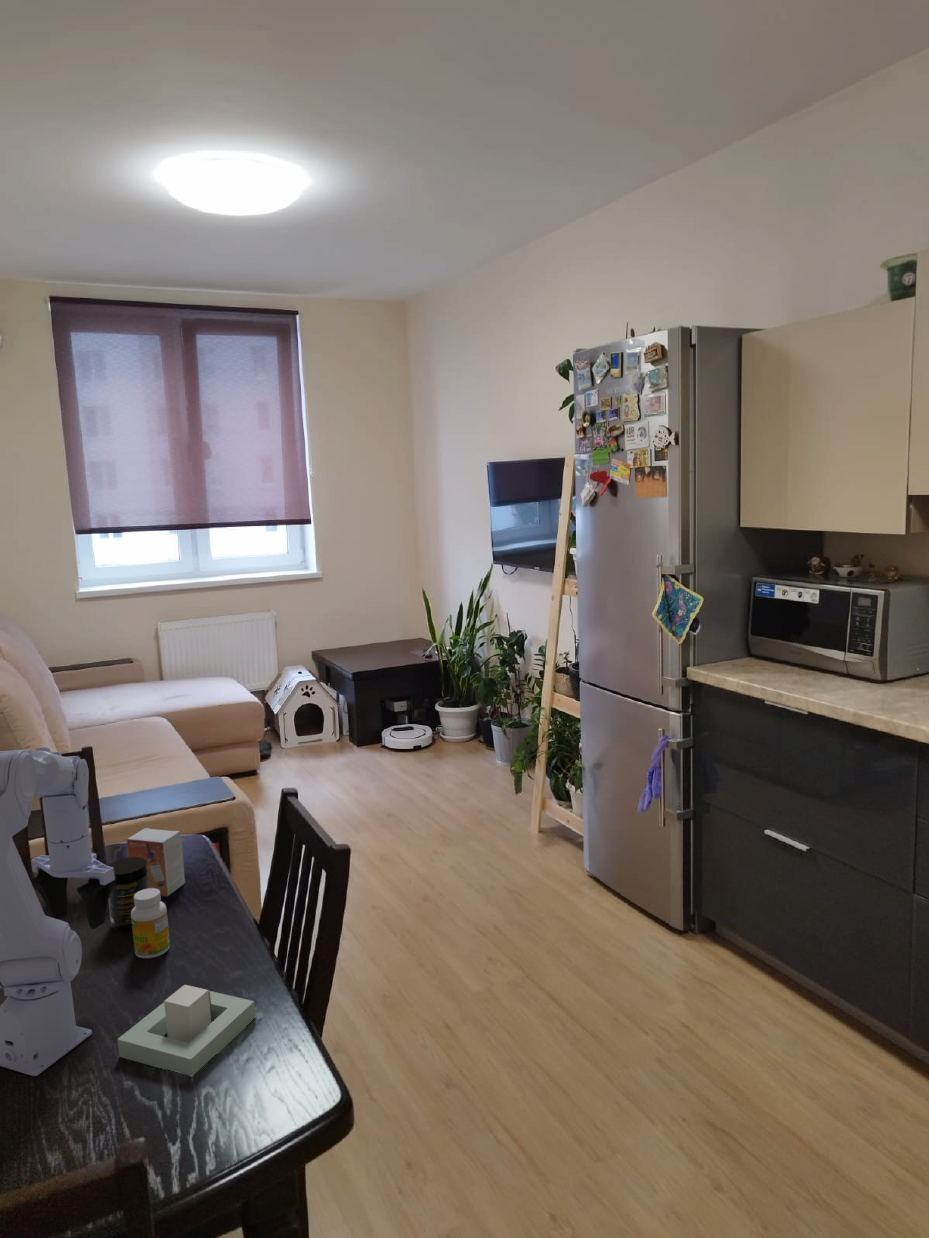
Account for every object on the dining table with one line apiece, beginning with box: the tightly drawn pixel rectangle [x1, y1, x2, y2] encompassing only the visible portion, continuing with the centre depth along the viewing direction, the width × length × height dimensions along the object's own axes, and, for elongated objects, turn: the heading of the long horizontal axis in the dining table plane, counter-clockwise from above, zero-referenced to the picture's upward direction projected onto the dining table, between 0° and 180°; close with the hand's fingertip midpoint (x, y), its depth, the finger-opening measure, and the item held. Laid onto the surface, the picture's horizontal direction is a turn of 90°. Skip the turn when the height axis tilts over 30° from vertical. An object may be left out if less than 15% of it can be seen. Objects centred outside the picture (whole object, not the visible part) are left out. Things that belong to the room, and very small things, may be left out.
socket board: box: [116, 990, 256, 1075], centre depth 117 cm, size 13×12×2 cm
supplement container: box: [107, 857, 149, 932], centre depth 148 cm, size 7×7×10 cm
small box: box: [126, 827, 186, 897], centre depth 161 cm, size 8×6×10 cm
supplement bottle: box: [131, 888, 171, 959], centre depth 139 cm, size 5×5×10 cm
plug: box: [163, 984, 213, 1043], centre depth 117 cm, size 5×4×6 cm
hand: (78, 921), depth 131 cm, fingers open, 7 cm apart
